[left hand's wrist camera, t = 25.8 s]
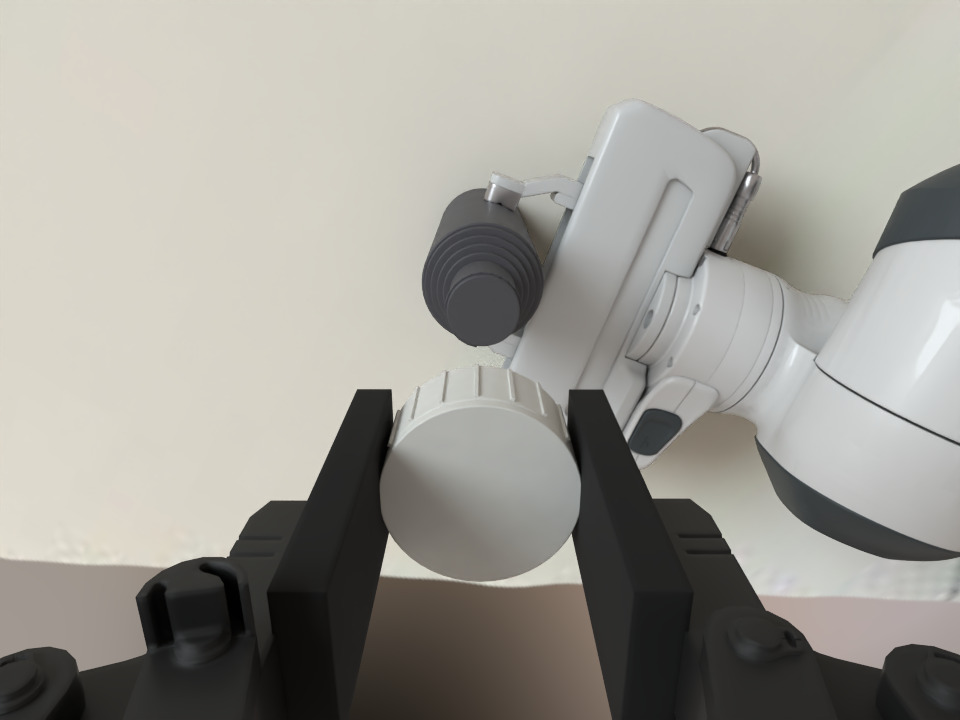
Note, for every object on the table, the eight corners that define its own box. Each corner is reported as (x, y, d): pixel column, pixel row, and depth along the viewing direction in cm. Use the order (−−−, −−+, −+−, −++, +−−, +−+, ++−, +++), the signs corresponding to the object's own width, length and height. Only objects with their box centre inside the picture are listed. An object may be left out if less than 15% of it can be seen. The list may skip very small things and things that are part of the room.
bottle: (454, 176, 41) (435, 221, 24) (535, 204, 42) (575, 267, 24) (429, 257, 43) (395, 354, 25) (507, 283, 43) (526, 394, 26)
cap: (355, 462, 15) (335, 515, 13) (464, 325, 14) (461, 361, 12) (494, 552, 16) (497, 616, 14) (608, 431, 15) (628, 482, 13)
